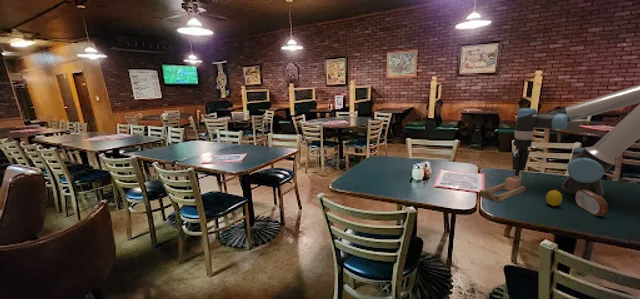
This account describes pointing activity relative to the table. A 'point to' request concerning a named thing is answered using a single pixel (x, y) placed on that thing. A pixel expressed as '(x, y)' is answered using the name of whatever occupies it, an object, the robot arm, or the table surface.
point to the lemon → (554, 197)
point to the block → (512, 183)
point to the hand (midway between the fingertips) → (517, 181)
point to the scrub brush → (591, 202)
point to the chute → (489, 194)
